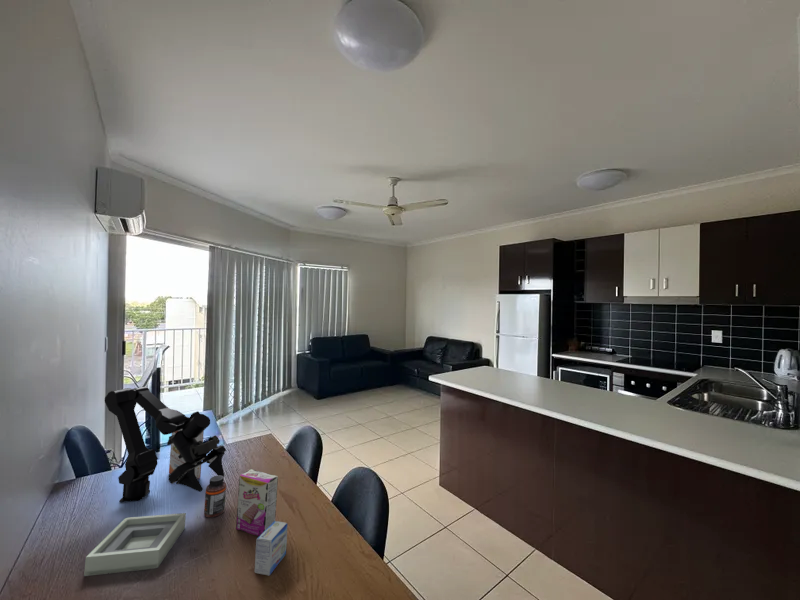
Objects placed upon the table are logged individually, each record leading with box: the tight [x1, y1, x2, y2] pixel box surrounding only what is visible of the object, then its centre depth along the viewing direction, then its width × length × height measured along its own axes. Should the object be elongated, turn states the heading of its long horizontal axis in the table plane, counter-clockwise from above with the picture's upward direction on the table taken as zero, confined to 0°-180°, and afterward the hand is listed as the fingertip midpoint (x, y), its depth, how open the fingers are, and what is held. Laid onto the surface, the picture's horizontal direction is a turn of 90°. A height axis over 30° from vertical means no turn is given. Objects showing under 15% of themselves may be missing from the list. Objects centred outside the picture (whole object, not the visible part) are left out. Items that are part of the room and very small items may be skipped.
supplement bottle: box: [203, 475, 227, 518], centre depth 107 cm, size 6×6×11 cm
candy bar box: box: [235, 468, 279, 537], centre depth 99 cm, size 11×5×16 cm, turn 71°
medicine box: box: [254, 520, 288, 577], centre depth 86 cm, size 8×4×9 cm, turn 168°
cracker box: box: [168, 429, 205, 479], centre depth 130 cm, size 14×6×21 cm, turn 58°
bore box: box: [83, 512, 187, 577], centre depth 89 cm, size 16×16×4 cm
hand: (212, 483), depth 107 cm, fingers open, 9 cm apart
